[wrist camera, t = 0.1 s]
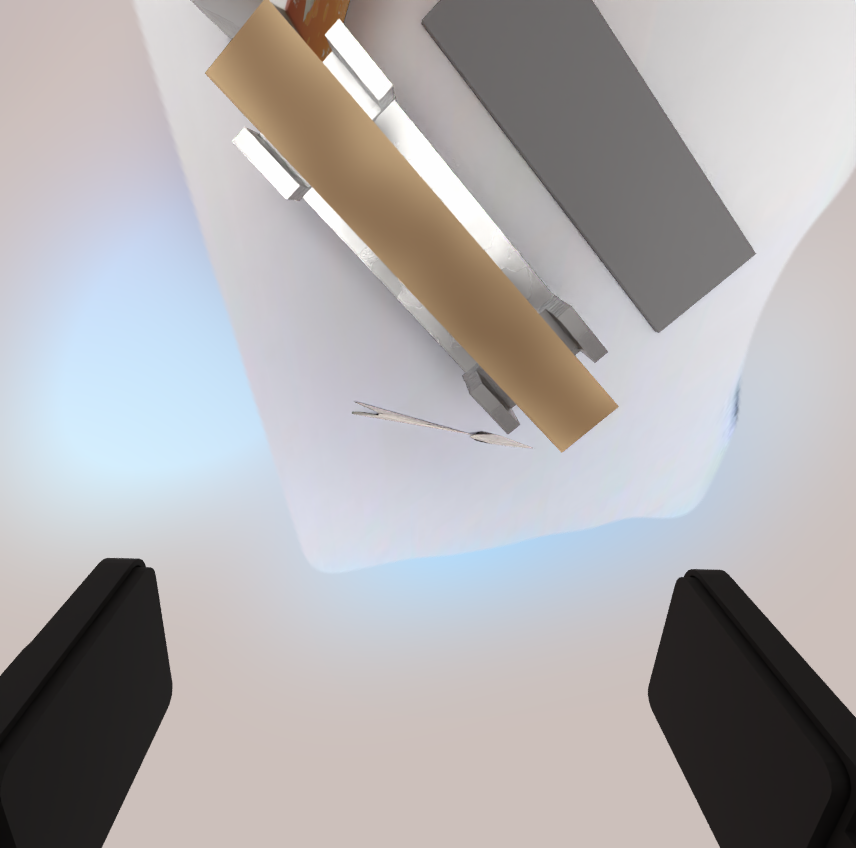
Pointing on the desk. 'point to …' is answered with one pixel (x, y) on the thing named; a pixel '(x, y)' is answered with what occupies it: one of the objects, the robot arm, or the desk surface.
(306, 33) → the small box
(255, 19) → the rail
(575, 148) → the mat
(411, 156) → the rack
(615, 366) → the desk surface
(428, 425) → the silver long thin piece
